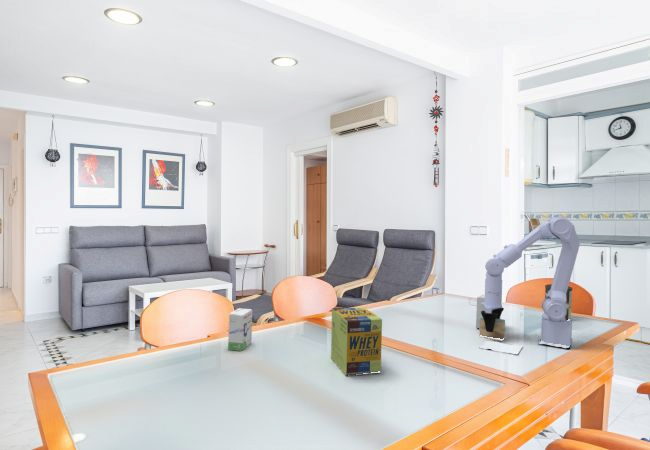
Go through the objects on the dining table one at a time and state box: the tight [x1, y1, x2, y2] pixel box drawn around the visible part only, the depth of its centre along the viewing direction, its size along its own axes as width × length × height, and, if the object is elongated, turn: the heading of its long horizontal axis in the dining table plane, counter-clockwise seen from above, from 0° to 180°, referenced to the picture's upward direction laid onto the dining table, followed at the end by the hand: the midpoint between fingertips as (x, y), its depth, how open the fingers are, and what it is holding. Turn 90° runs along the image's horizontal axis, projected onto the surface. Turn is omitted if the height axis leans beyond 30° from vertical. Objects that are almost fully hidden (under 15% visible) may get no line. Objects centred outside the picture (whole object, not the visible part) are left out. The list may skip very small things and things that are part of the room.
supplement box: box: [475, 294, 485, 330], centre depth 169 cm, size 7×7×13 cm
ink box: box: [227, 307, 253, 352], centre depth 143 cm, size 9×5×12 cm, turn 168°
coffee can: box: [543, 283, 573, 320], centre depth 187 cm, size 10×10×14 cm
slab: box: [479, 317, 506, 339], centre depth 157 cm, size 8×3×7 cm, turn 57°
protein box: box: [330, 307, 383, 377], centre depth 127 cm, size 10×15×16 cm
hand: (491, 329), depth 157 cm, fingers open, 7 cm apart
